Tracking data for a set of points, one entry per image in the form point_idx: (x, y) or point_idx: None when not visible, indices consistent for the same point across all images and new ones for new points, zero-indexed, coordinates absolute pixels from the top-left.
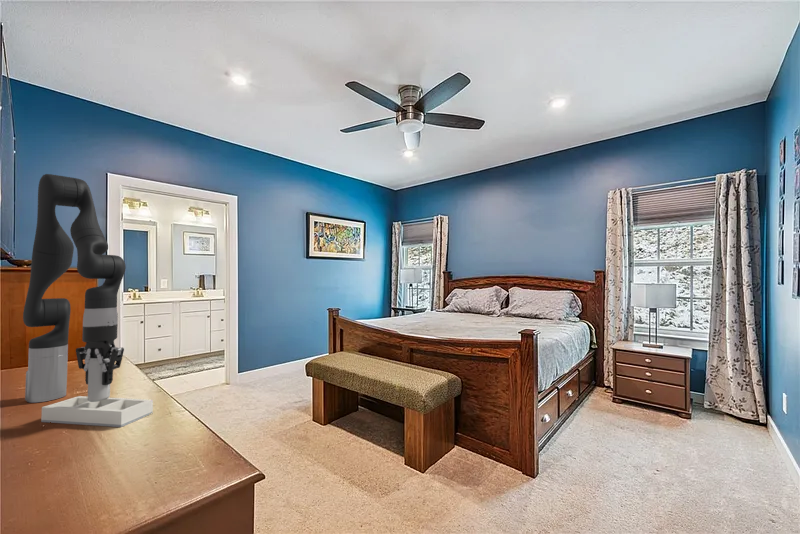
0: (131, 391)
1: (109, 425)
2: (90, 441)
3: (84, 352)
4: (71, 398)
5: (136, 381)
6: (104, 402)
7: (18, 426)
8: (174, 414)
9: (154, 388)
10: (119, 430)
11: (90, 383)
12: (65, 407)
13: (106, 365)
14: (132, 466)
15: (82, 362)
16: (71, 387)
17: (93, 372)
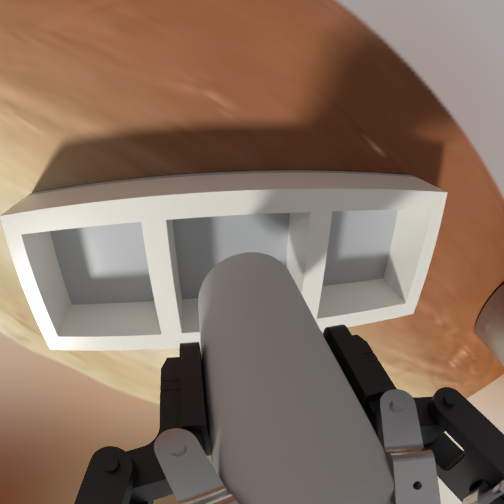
0: None
1: (77, 186)
2: (15, 72)
3: (482, 502)
4: (419, 290)
5: None
6: None
7: (441, 136)
8: (3, 316)
9: None
10: (10, 170)
11: (270, 319)
12: (354, 201)
13: (173, 488)
14: None
15: (455, 434)
16: (484, 357)
17: (270, 402)
